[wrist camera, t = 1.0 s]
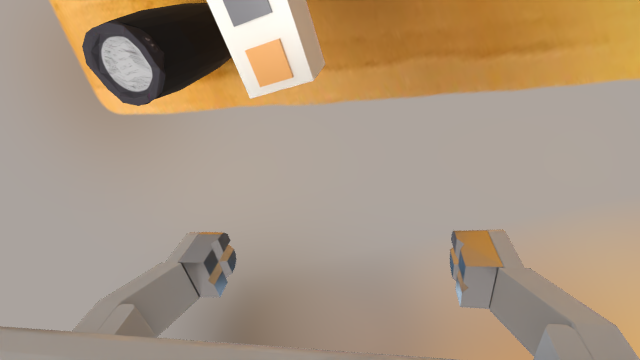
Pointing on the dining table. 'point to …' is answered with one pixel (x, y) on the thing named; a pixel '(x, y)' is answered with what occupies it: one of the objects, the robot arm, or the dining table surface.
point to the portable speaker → (155, 51)
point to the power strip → (269, 42)
